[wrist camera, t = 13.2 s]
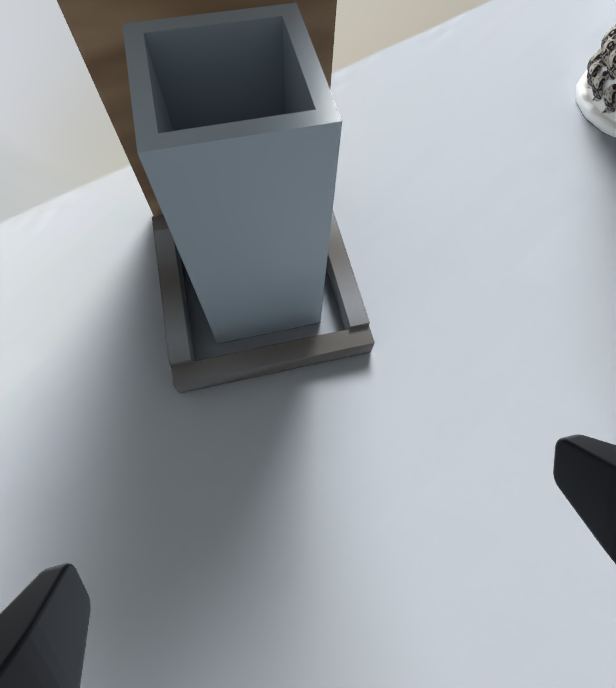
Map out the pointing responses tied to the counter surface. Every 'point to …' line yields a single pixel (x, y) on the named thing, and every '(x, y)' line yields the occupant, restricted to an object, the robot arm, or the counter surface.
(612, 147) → the counter surface
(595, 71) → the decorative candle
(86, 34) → the wooden c-shaped stand
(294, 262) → the sleeve
